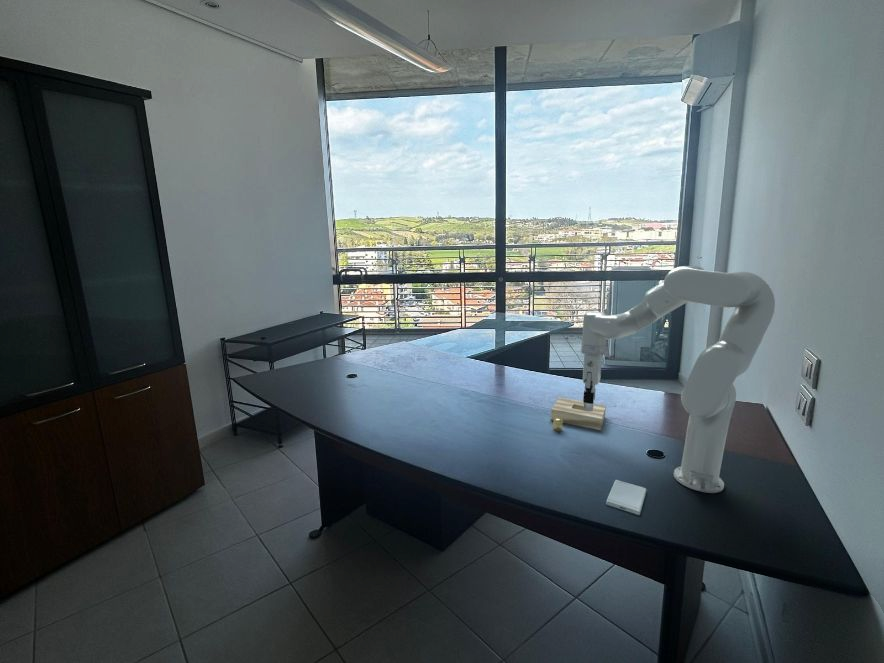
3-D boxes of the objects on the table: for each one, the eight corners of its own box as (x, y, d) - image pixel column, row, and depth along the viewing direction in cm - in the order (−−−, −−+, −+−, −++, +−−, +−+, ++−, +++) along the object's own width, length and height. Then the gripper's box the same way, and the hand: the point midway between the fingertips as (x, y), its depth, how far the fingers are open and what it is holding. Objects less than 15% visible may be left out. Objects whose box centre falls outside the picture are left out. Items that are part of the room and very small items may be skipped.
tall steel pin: (592, 412, 149) (594, 383, 147) (582, 410, 150) (584, 382, 148) (593, 408, 152) (595, 381, 150) (584, 407, 153) (586, 379, 151)
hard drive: (615, 479, 124) (606, 500, 114) (646, 488, 120) (640, 511, 110) (614, 484, 125) (605, 506, 114) (646, 493, 120) (639, 517, 110)
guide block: (600, 430, 158) (602, 418, 157) (550, 420, 165) (551, 408, 164) (604, 416, 170) (606, 405, 169) (557, 407, 178) (558, 397, 177)
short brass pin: (561, 432, 156) (562, 421, 155) (552, 430, 157) (552, 419, 156) (562, 428, 158) (563, 418, 158) (553, 427, 160) (554, 416, 159)
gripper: (602, 355, 138) (597, 411, 142) (607, 345, 153) (603, 395, 156) (577, 353, 141) (573, 407, 145) (585, 343, 156) (581, 392, 159)
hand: (589, 400), depth 151 cm, fingers closed on tall steel pin, 3 cm apart
